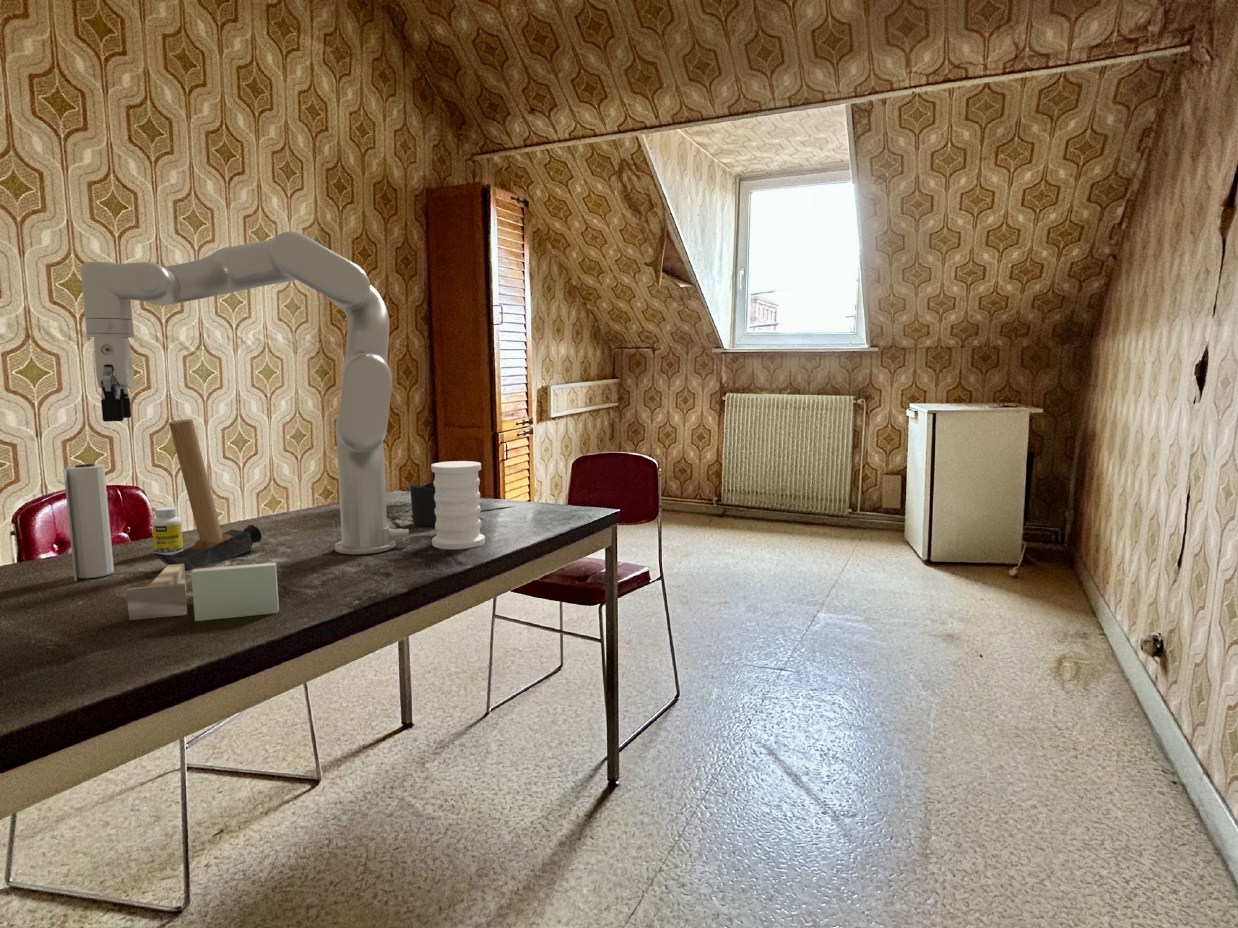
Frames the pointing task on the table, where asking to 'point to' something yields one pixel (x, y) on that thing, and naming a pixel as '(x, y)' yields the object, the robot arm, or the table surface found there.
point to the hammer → (203, 508)
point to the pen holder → (423, 505)
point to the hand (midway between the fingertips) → (117, 419)
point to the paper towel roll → (88, 520)
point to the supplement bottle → (167, 531)
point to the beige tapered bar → (160, 595)
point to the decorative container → (457, 505)
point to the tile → (235, 591)
